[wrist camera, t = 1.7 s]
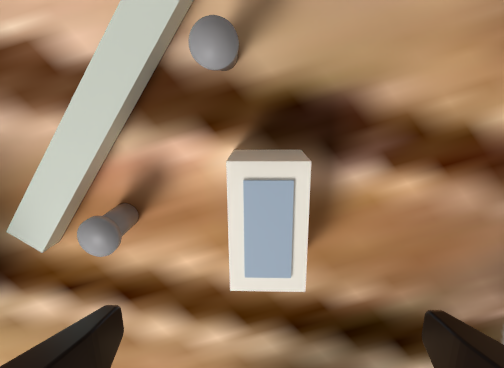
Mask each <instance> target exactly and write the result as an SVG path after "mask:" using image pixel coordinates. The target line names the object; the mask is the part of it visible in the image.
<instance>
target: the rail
mask: <svg viewBox="0 0 504 368" xmlns="http://www.w3.org/2000/svg"><path fill="white" fill-rule="evenodd" d="M192 2H193V0H121V1H120V3H119V5H118V7H117V9H116V11H115V13H114V15H113V17H112V19H111V21H110V23H109V25H108V27H107V29H106V31H105V33H104V35H103V37H102V39H101V41H100V43H99V45H98V47H97V49H96V51H95V53H94V55H93V57H92V59H91V61H90V63H89V65H88V67H87V69H86V71H85V74H84V76H83V78H82V80H81V82H80V84H79V86H78V88H77V90H76V92H75V94H74V96H73V98H72V100H71V102H70V104H69V106H68V108H67V110H66V112H65V114H64V116H63V118H62V120H61V122H60V124H59V126H58V128H57V130H56V132H55V134H54V136H53V138H52V140H51V142H50V144H49V146H48V148H47V150H46V152H45V154H44V156H43V158H42V160H41V162H40V164H39V166H38V168H37V170H36V172H35V174H34V176H33V179H32V181H31V183H30V185H29V187H28V189H27V191H26V193H25V195H24V197H23V199H22V201H21V203H20V205H19V207H18V209H17V211H16V213H15V215H14V217H13V219H12V221H11V223H10V225H9V227H8V229H7V231H6V232H7V233H9V234H11V235H12V236H14V237H16V238H18V239H19V240H21V241H23V242H24V243H26V244H28V245H30V246H31V247H33V248H35V249H36V250H38V251H40V252H42V253H43V252H44V251H46V250H47V249H49V248H50V247H52V246H53V245H55V244H56V243H58V242H59V241H60V239H61V238H62V236H63V234H64V232H65V231H66V229H67V227H68V225H69V223H70V222H71V220H72V218H73V216H74V214H75V213H76V211H77V209H78V207H79V205H80V204H81V202H82V200H83V198H84V196H85V195H86V193H87V191H88V189H89V187H90V186H91V184H92V182H93V180H94V178H95V177H96V175H97V173H98V171H99V169H100V168H101V166H102V164H103V162H104V160H105V159H106V157H107V155H108V153H109V151H110V150H111V148H112V146H113V144H114V142H115V141H116V139H117V137H118V135H119V133H120V132H121V130H122V128H123V126H124V124H125V123H126V121H127V119H128V117H129V115H130V114H131V112H132V110H133V108H134V106H135V105H136V103H137V101H138V99H139V97H140V96H141V94H142V92H143V90H144V88H145V87H146V85H147V83H148V81H149V79H150V78H151V76H152V74H153V72H154V70H155V69H156V67H157V65H158V63H159V61H160V60H161V58H162V56H163V54H164V52H165V51H166V49H167V47H168V45H169V43H170V42H171V40H172V38H173V36H174V34H175V33H176V31H177V29H178V27H179V25H180V24H181V22H182V20H183V18H184V16H185V15H186V13H187V11H188V9H189V7H190V6H191V4H192ZM189 48H190V52H191V54H192V56H193V58H194V59H195V60H196V61H197V62H198V63H199V64H200V65H201V66H203V67H205V68H207V69H210V70H221V71H227V70H229V69H231V68H232V67H234V65H235V64H236V62H237V59H238V50H239V39H238V36H237V33H236V30H235V29H234V27H233V25H232V24H231V23H230V22H229V21H228V20H226V19H225V18H223V17H221V16H217V15H209V16H205V17H203V18H201V19H199V20H198V21H197V22H196V23H195V24H194V26H193V27H192V29H191V32H190V35H189ZM137 221H138V212H137V210H136V208H135V207H134V206H132V205H130V204H127V203H122V204H119V205H118V206H116V207H115V208H113V209H112V210H110V211H109V212H107V213H106V214H105V215H103V216H93V217H91V218H89V219H87V220H86V221H84V222H83V223H82V224H81V225H80V226H79V228H78V231H77V238H78V242H79V244H80V246H81V247H82V248H83V249H84V250H85V251H86V252H88V253H89V254H91V255H94V256H99V257H103V256H107V255H110V254H111V253H113V252H114V251H115V250H116V249H117V248H118V246H119V245H120V243H121V238H122V236H123V235H124V234H125V233H126V232H127V231H128V230H129V229H130V228H131V227H132V226H133V225H135V224H136V222H137Z"/></svg>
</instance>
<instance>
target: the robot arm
mask: <svg viewBox="0 0 504 368" xmlns="http://www.w3.org/2000/svg"><path fill="white" fill-rule="evenodd" d="M123 332H124V327H123V320H122V312H121V308H120V307H119V306H118V305H106V306H103V307H102V308H100V309H98V310H96V311H95V312H93V313H91V314H90V315H88V316H86V317H84V318H83V319H81V320H79V321H78V322H76V323H74V324H72V325H71V326H69V327H67V328H66V329H64V330H62V331H60V332H59V333H57V334H55V335H54V336H52V337H50V338H48V339H47V340H45V341H43V342H42V343H40V344H38V345H36V346H35V347H33V348H31V349H30V350H28V351H26V352H24V353H23V354H21V355H19V356H18V357H16V358H14V359H12V360H11V361H9V362H7V363H6V364H4V365H2V366H0V368H111V365H112V362H113V360H114V357H115V355H116V352H117V350H118V347H119V345H120V342H121V340H122V337H123ZM422 340H423V343H424V346H425V348H426V350H427V353H428V355H429V357H430V359H431V362H432V364H433V366H434V368H504V345H503V344H501V343H499V342H498V341H496V340H494V339H492V338H491V337H489V336H487V335H485V334H483V333H482V332H480V331H478V330H476V329H474V328H473V327H471V326H469V325H467V324H465V323H464V322H462V321H460V320H458V319H456V318H455V317H453V316H451V315H449V314H448V313H446V312H444V311H441V310H428V311H427V312H426V313H425V317H424V323H423V329H422Z"/></svg>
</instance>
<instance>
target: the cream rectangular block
mask: <svg viewBox="0 0 504 368" xmlns="http://www.w3.org/2000/svg"><path fill="white" fill-rule="evenodd" d="M226 168H227V202H228V236H229V270H230V291H283V292H305V290H306V268H307V246H308V224H309V202H310V180H311V160H310V159H309V158H308V157H307V156H306V155H305V154H304V152H303V151H302V150H233V152H232V153H231V155H230V157H229V158H228V160H227V161H226Z"/></svg>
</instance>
